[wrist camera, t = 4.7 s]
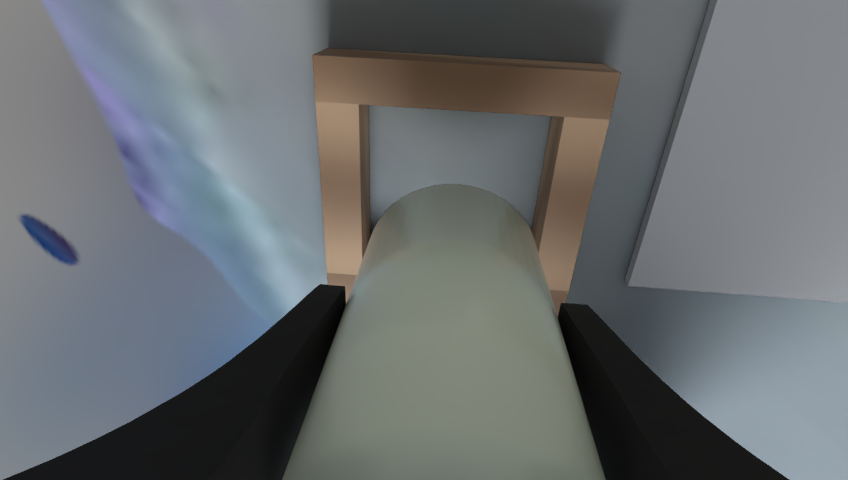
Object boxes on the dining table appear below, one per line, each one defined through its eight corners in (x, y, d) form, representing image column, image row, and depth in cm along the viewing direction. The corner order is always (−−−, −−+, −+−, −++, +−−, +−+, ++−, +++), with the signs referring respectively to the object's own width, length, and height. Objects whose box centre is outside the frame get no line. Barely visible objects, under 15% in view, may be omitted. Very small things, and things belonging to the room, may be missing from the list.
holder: (553, 292, 21) (561, 320, 20) (339, 276, 22) (328, 301, 20) (603, 63, 16) (620, 72, 15) (327, 48, 17) (312, 55, 15)
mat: (901, 300, 20) (911, 307, 20) (624, 279, 21) (628, 286, 20) (1109, -10, 14) (1129, -10, 14) (718, -29, 15) (726, -30, 14)
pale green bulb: (523, 335, 15) (580, 646, 8) (368, 322, 15) (287, 616, 8) (550, 190, 12) (669, 452, 5) (366, 178, 13) (248, 414, 6)
